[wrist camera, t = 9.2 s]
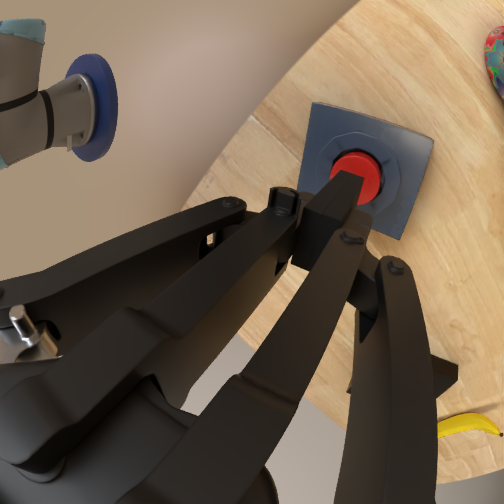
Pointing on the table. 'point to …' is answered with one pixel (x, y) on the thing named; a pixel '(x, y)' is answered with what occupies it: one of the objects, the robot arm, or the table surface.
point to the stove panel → (438, 375)
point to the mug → (496, 58)
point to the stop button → (361, 173)
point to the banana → (467, 424)
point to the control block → (376, 146)
